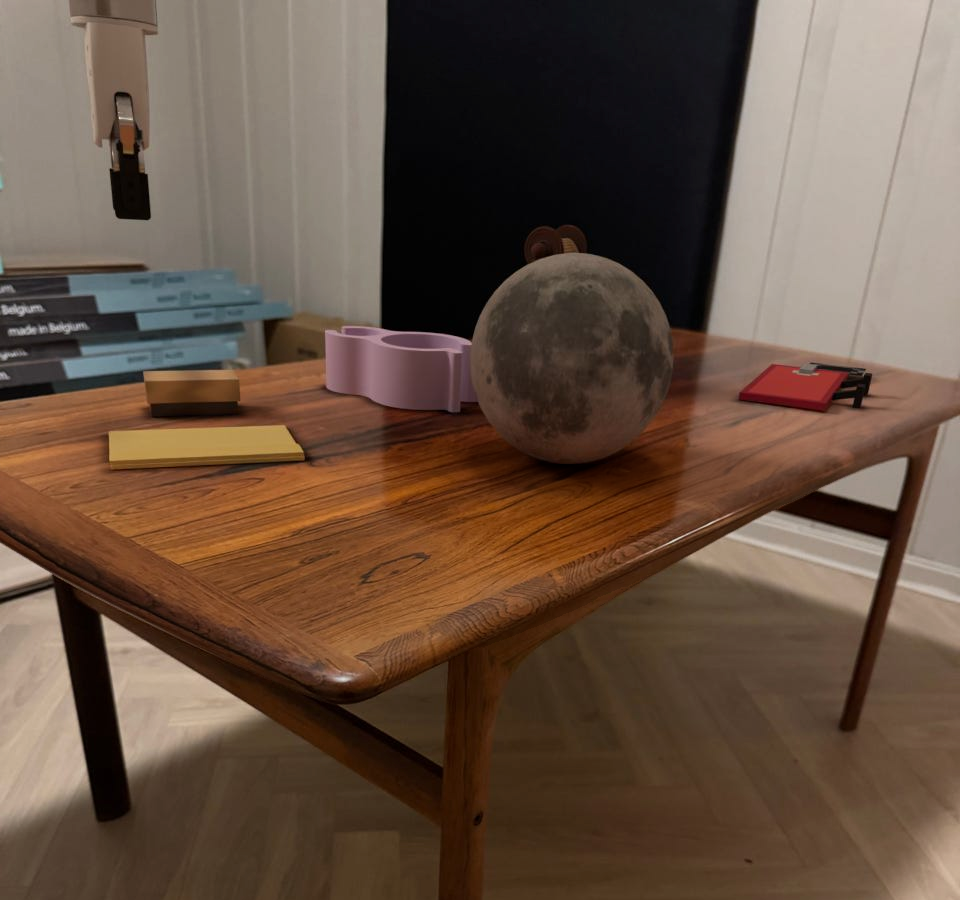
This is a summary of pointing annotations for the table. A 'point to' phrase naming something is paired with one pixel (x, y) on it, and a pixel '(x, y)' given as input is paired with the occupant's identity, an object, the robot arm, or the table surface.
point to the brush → (192, 392)
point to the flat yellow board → (201, 446)
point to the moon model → (571, 358)
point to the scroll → (554, 242)
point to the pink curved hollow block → (400, 367)
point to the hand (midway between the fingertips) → (131, 215)
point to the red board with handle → (807, 385)
